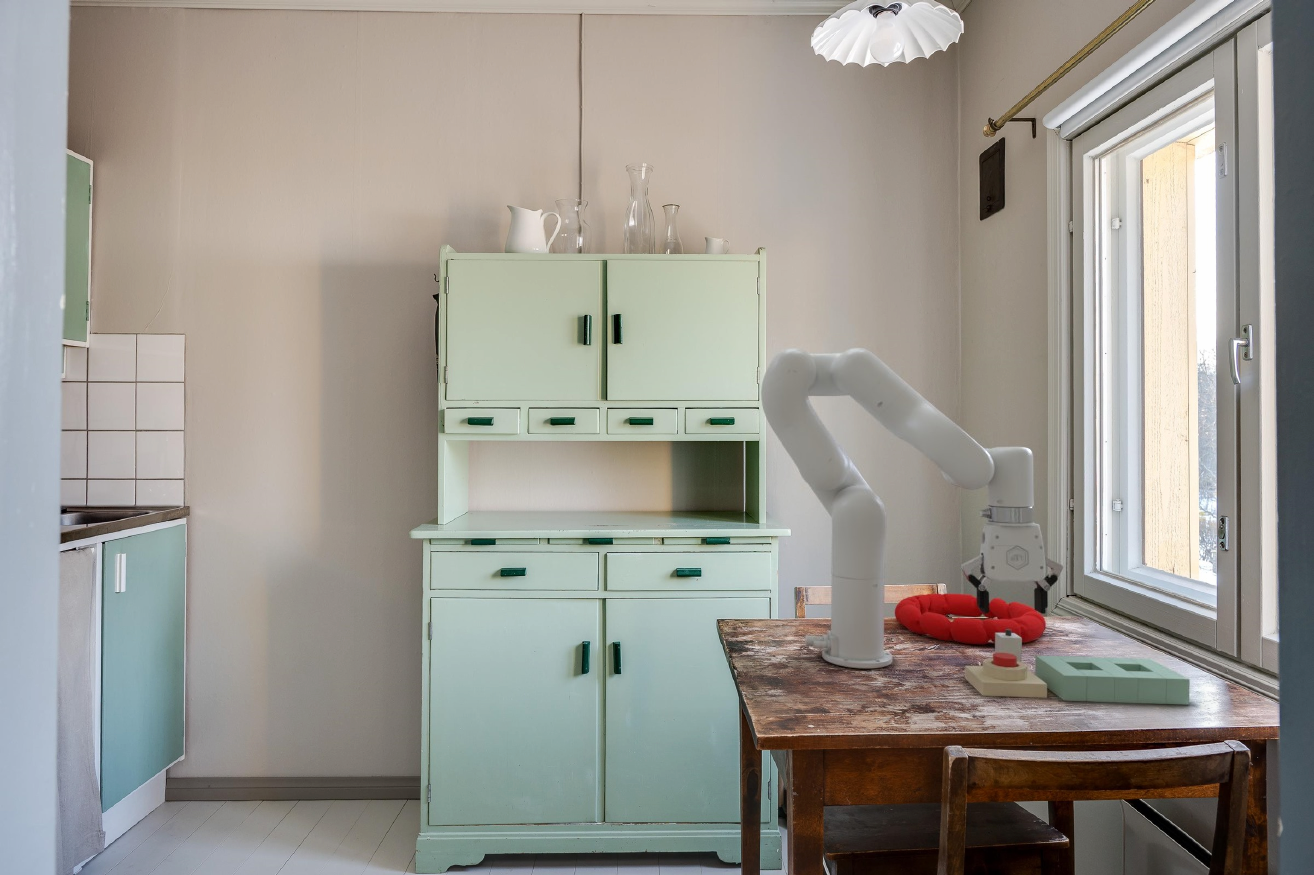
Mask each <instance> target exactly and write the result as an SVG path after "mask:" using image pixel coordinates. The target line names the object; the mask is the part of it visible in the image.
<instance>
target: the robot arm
mask: <svg viewBox="0 0 1314 875" xmlns="http://www.w3.org/2000/svg"><path fill="white" fill-rule="evenodd" d="M843 396H844V397H845V396H849V397H851V399H853V401H855V403H857V404H859V406H861V407H862V408H863V409H864V410H865V411H866V412H868V414H870V415H871V416H872V417H873V418H874V419H875V420H876V421H877V422H879V424H880V425H882V426H883V427H884V428H885V429H886V430H888V432H890V433H891V434H893V435H894V436H895V437H897V438H898V439H900V440H902V441H904V442H906V443H908V444H909V445H910V446H912V447H913V448H915V449H916V450H918V451H919V452H920V453H921V454H923V455H924V456H925V457H926V458H927V459H929V460H930V461H931V462H932V463H933V464H934V465H935V466H937V467H938V468H939V470H940V473H941V476H942V477H943V479H945V481H947V482H948V483H949V484H951V485H953V486H955V487H958V488H961V489H965V490H971V491H973V490H979V489H982V488H984V487H987V505H986V508H984V509H980V510H979V517H980V518H985V519H986V520H987V522H984V523H983V529H982V532H981V533H982V534H981V540H980V549H979V555H977V556H976V557H973V558H971V559H969V560H967V561H965V562H964V563H962V564H961V565H960V569H961V570H962V573H963V574H964V576H965V578H966V580H967V581H968V582H969V583H970V584H971V585H972V586H973V587H974V588H975V589H976V597H977V607H978V608H979V609H980V611H982V612H983V613H985V614H988V613H989V603H990V591H988V590H987V589H988V587H989V586H990V585H991V584H992V582H1033V584H1035V585H1036V587H1034V589H1033V595H1034V596H1033V599H1034V601H1033V602H1034V605H1033V606H1034V607H1033V609H1035V610H1036V611H1037V612H1038V613H1040V614H1041V615H1044V614H1046V612H1047V611H1046V610H1047V609H1048V606H1049V600H1048V597H1049V595H1048V593H1049V591H1050V590H1051V589H1052V586H1054V585H1055V584H1056V583H1057V582H1058V580H1059V577H1060V575H1061V573H1062V572H1063V570H1064V566H1063V565H1062V564H1061V563H1058V562H1056V561H1054V560H1052V559H1051V558H1048V557H1046V555H1045V554H1046V553H1045V547H1044V539H1043V536H1042V535H1043V534H1042V530H1041V526H1040V524H1039V523H1035V500H1034V499H1035V495H1034V494H1035V492H1034V491H1035V490H1034V489H1035V488H1034V485H1035V484H1034V453H1033V451H1032V449H1030V448H1028V447H1025V446H996V447H992V448H986V447H983V446H982V445H981V444H980V443H978V442H977V441H976V440H975V439H974V438H973V437H972V436H970V435H969V434H968V433H967V432H966V431H965V430H964V429H962V428H961V427H960V426H959V425H958V424H956V423H955V422H954V421H953V420H951V419H950V418H949V417H948V416H947V415H945V414H944V413H943V412H942V411H940V409H938V408H936V407H935V405H933V404H932V403H931V402H930V401H928V400H927V399H926V398H925V397H924V396H922V394H920V393H919V392H918V391H916V390H915V388H913V387H912V386H911V385H910V384H908V382H906V381H905V380H904V379H903V378H902V377H900V375H899V374H898V373H896V372H895V371H894V370H893V369H892V368H891V367H890V366H888V365H887V364H886V363H885V362H884V361H883V360H882V359H880V357H878V356H877V355H876V354H874V353H873V352H871V350H868V349H867V348H863V347H858V346H857V347H851V348H848V349H846V350H845V351H843V352H835V353H833V352H831V353H809V352H807V351H805V350H804V349H801V348H798V347H788V348H785V349H782V350H780V352H778V353H777V354H776V355H775V356H774V357H773V358H772V359H771V361H770V363H769V364H768V366H767V369H766V371H765V373H764V376H763V379H762V383H761V391H760V397H761V406H762V410H763V413H764V415H765V416H764V417H765V418H766V420H767V423H768V424H769V426H770V428H771V430H772V431H773V432H774V434H775V436H776V437H777V439H778V441H780V443H781V445H782V446H783V448H784V449H785V451H786V452H787V454H788V456H789V457H790V458H791V460H792V461H793V463H794V464H795V466H796V467H797V469H798V471H799V474H800V476H801V478H802V479H803V480H804V482H805V483H807V485H808V486H809V488H810V489H811V490H812V492H813V493H814V494H815V496H816V497H817V499H818V500H819V502H820V503H821V504H822V506H823V507H824V509H825V510H826V511H827V513H828V515H829V516H830V517H831V563H830V564H831V566H830V568H831V569H830V572H831V573H830V574H831V584H830V586H831V587H830V588H831V590H830V591H831V592H830V594H831V595H830V596H831V597H830V605H831V606H830V610H831V611H830V629H827V632H826V633H827V634H825V633H823V634H822V635H820V636H816V635H807V634H806V635H805V637H804V645H805V647H813V649H822V651H821V657H822V659H823V660H825V662H828V663H830V664H833V665H836V666H840V667H845V668H852V669H866V670H867V669H878V668H879V669H880V668H884V667H885V668H886V667H888V666H890V665H891V664H893V660H894V659H893V658H894V657H893V654H892V653H891V652H890V651H888V650H885V588H886V586H885V584H886V583H885V581H886V580H885V579H886V578H885V572H886V571H885V570H886V569H885V567H886V566H885V565H886V564H885V562H886V542H887V541H886V540H887V539H886V538H887V530H888V529H887V526H888V525H887V524H888V519H887V518H888V517H887V511H886V507H885V504H884V502H883V501H882V499H881V498H880V497H879V495H877V494H876V493H875V492H874V491H873V489H872V488H871V486H870V485H869V484H868V483H867V481H866V480H865V479H864V477H863V475H862V474H861V473H860V471H859V470H858V468H857V466H856V465H855V464H854V463H853V461H852V460H851V458H850V457H849V454H848V453H847V451H846V450H845V448H844V447H843V446H842V445H841V444H840V443H839V442H837V440H836V438H834V436H833V435H832V434H831V432H830V431H829V429H828V428H827V426H826V425H825V424H824V422H823V421H822V419H821V417H820V416H819V415H818V412H816V410H815V408H814V407H813V405H812V404H811V401H810V398H809V397H843ZM977 567H979V572H980V574H981V575H980V576H979V577H978V578H977V576H975V574H974V572H973V569H975V568H977ZM1048 567H1049V568H1050V571H1049V573H1048V574H1046V573H1047V568H1048Z"/></svg>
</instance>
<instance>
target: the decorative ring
mask: <svg viewBox="0 0 1314 875" xmlns="http://www.w3.org/2000/svg"><path fill="white" fill-rule="evenodd" d="M950 615H952V616H954V617H955V618H953V620H952V621H951V620H950V619H949V617H947V616H950ZM982 615H983V616H984V617H985V618H987V619H984V620H982V619H980V617H981V616H982ZM894 617H895V619H896V621H897V623H898V624H900V625H901V626H903V627H905V628H906V629H907V630H909V631H910V632H912V633H915V634H918V635H928V636H930V637H931V638H934V639H937V640H939V641H944V642H945V641H947V642H949V641H956V642H959V643H962V644H968V645H979V646H983V645H987V644H989V641H992V643H994V644H995V633H1005V629H1010V630H1012V632H1011V633H1015V634H1016V635H1018V636H1019V637H1021V638H1022V644H1026V643H1030V642H1032V641H1036V640H1037V639H1039V638H1040V637H1042V636H1043V635H1044V632H1045V631H1046V628H1047V622H1046V619H1045V617H1044V616H1043V614H1042V613H1040V612H1038V611H1036V610H1035V609H1034V607H1032V606H1029V605H1027V604H1024V603H1020V602H1017V601H1011V602H1009V603H1007V602H1006V601H1005V600H1004V599H1002V598H1000V597H999V598H998V597H995V598H992V599H991V600H989V613H988V614H985V613H983V612H982V611H980V609H979V608H978V607H977V596H974V595H972V594H964V593H943V594H942V593H927V594H916V595H912V596H908V597H906V598H903V599H901V600H900V601H898V603H897V604H896V605H895V608H894Z"/></svg>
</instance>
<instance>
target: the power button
mask: <svg viewBox="0 0 1314 875" xmlns="http://www.w3.org/2000/svg"><path fill="white" fill-rule="evenodd" d="M992 658H993V664H994V665H997V666H1001V667H1017V656H1015V655H1013V654H1009V653H995V652H994V653H993V654H992Z"/></svg>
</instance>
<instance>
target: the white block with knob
mask: <svg viewBox="0 0 1314 875" xmlns="http://www.w3.org/2000/svg"><path fill="white" fill-rule="evenodd" d="M1011 632H1012V630H1010V629H1005V633H995V643H994V653H1009V654H1013V655H1015V656H1017V661H1019V662H1022V659H1023V658H1022V657H1023V656H1022V654H1023V643H1022V638H1021V637H1019V636H1018V635H1016V634H1015V633H1011Z"/></svg>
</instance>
